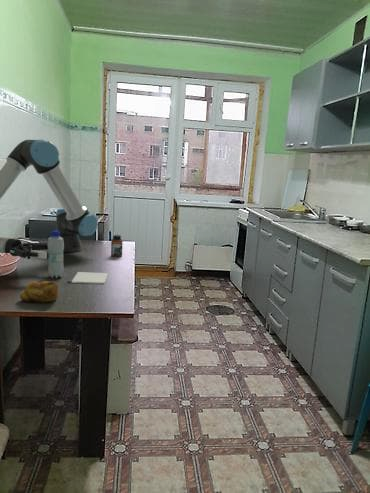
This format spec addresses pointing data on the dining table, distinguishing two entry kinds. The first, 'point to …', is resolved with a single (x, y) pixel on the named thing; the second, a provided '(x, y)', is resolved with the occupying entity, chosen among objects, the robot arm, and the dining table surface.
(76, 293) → the dining table surface
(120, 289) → the dining table surface
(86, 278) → the mat
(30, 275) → the dining table surface
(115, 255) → the supplement bottle
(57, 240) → the bottle
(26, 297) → the bread roll
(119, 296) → the dining table surface
